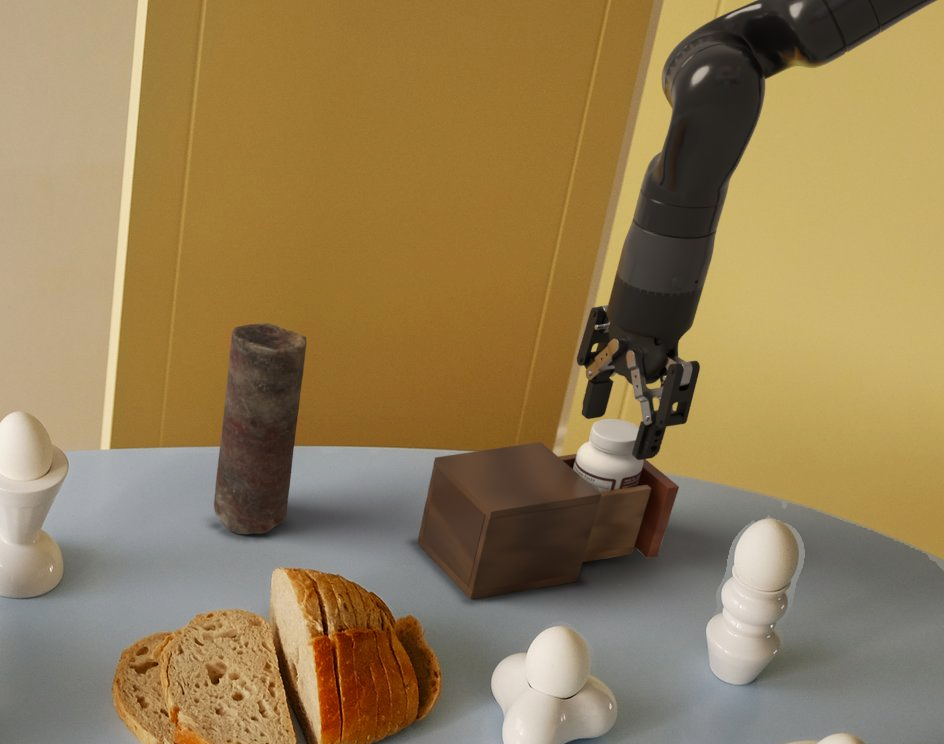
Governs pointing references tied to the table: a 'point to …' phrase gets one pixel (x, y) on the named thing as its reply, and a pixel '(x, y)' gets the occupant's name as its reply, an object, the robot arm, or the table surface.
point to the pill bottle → (609, 456)
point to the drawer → (631, 516)
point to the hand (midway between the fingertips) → (617, 436)
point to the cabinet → (507, 519)
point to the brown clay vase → (259, 427)
